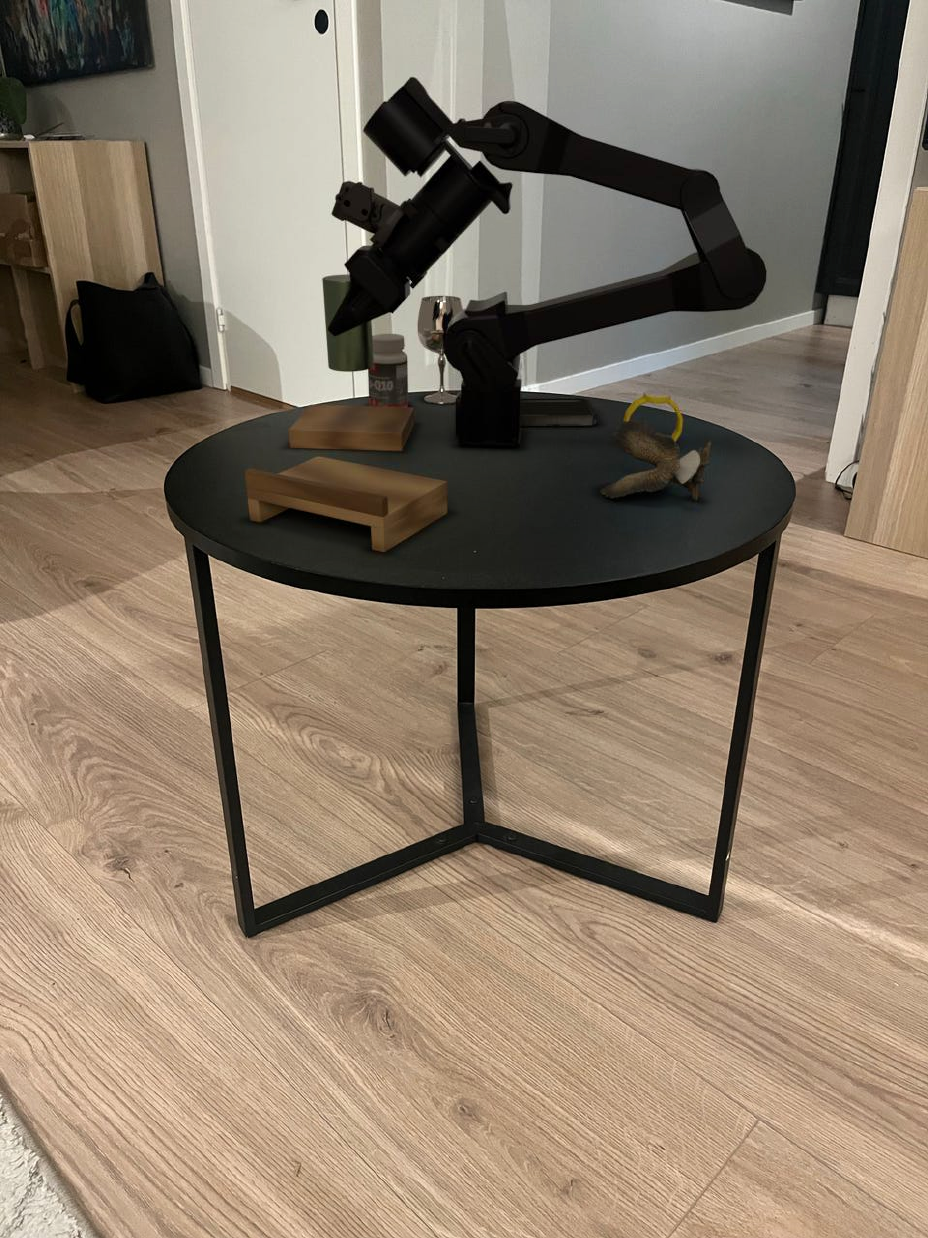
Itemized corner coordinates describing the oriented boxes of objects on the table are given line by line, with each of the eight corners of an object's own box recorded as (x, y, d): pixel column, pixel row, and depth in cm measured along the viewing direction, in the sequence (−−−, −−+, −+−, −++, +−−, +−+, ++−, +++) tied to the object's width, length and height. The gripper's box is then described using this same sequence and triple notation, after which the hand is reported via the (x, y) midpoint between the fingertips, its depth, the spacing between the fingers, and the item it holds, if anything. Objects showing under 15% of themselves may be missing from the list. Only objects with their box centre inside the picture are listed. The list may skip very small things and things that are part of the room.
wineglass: (459, 406, 116) (459, 303, 110) (413, 403, 117) (411, 301, 111) (469, 394, 121) (469, 295, 115) (425, 392, 122) (423, 294, 116)
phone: (464, 398, 114) (588, 398, 114) (464, 408, 115) (588, 407, 115) (465, 416, 107) (598, 415, 107) (465, 426, 108) (598, 425, 108)
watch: (623, 453, 99) (628, 396, 97) (619, 445, 102) (624, 389, 99) (680, 453, 99) (687, 397, 97) (675, 445, 102) (682, 390, 99)
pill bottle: (361, 409, 114) (358, 337, 110) (383, 400, 118) (381, 331, 114) (394, 414, 112) (392, 342, 108) (415, 405, 116) (414, 335, 112)
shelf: (320, 486, 90) (317, 440, 88) (447, 513, 84) (447, 464, 82) (249, 520, 82) (244, 470, 80) (384, 552, 76) (382, 499, 74)
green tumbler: (379, 369, 100) (374, 279, 96) (334, 373, 98) (328, 282, 94) (367, 360, 104) (362, 273, 100) (323, 363, 102) (317, 275, 98)
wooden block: (414, 424, 109) (414, 407, 108) (402, 451, 100) (401, 432, 99) (310, 421, 109) (309, 404, 109) (289, 447, 101) (288, 429, 100)
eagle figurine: (700, 469, 91) (609, 446, 92) (721, 420, 85) (623, 396, 86) (687, 532, 88) (592, 508, 89) (708, 487, 81) (605, 461, 82)
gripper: (393, 147, 100) (298, 258, 105) (362, 151, 83) (251, 283, 89) (468, 228, 103) (372, 332, 109) (452, 248, 86) (340, 369, 92)
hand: (336, 327), depth 99 cm, fingers closed on green tumbler, 5 cm apart
